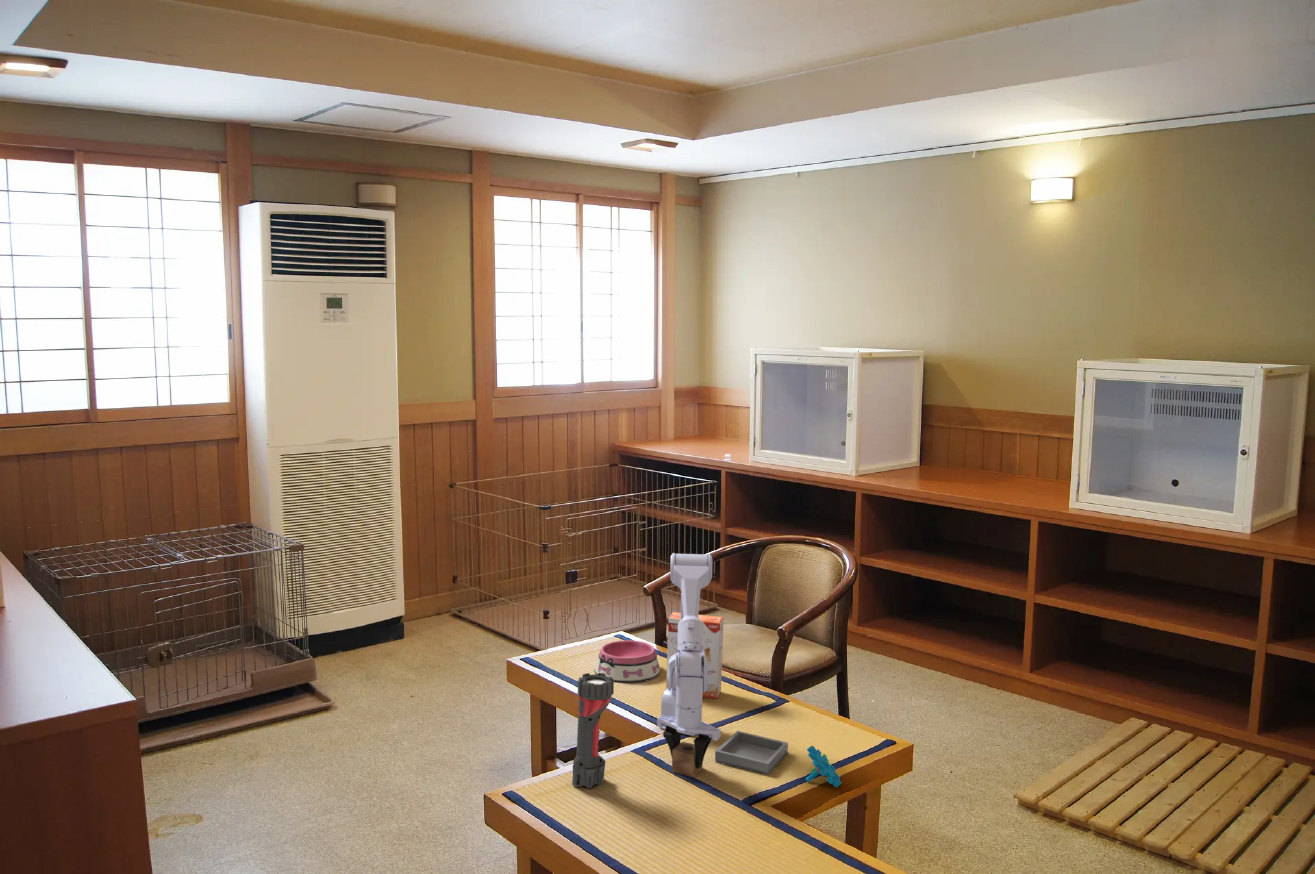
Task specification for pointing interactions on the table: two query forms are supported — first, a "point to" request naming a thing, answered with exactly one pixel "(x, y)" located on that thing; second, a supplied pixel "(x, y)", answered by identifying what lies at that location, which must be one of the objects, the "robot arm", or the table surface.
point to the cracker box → (711, 647)
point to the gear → (822, 767)
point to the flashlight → (590, 728)
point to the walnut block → (684, 759)
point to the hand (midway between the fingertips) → (687, 763)
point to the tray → (751, 752)
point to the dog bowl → (628, 661)
